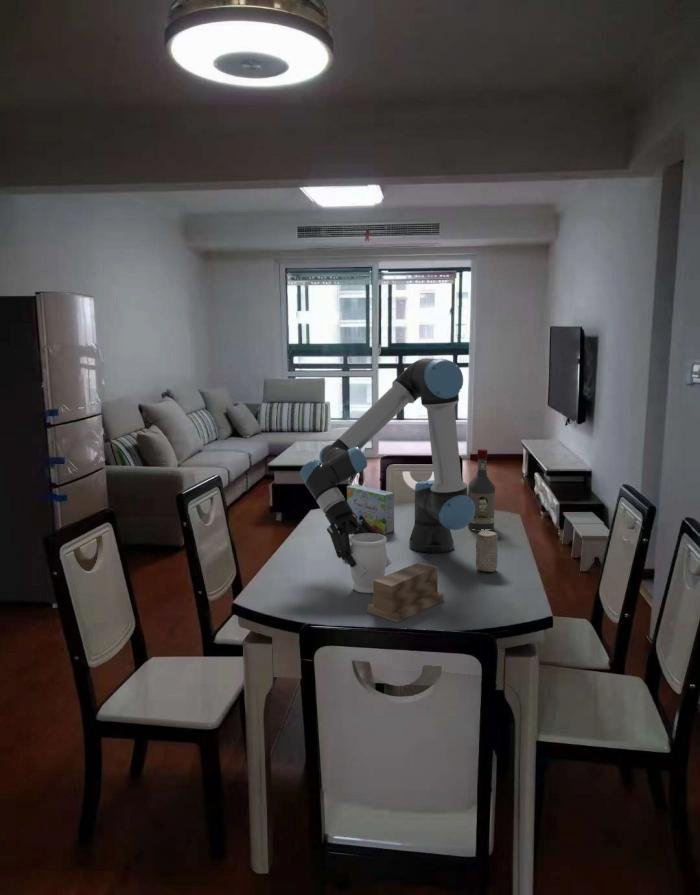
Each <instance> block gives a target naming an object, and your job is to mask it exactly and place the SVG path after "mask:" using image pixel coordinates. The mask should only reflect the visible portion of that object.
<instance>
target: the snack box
mask: <svg viewBox="0 0 700 895" xmlns="http://www.w3.org/2000/svg"><path fill="white" fill-rule="evenodd" d="M346 501H347V503H348V504H349V506H350V507H351V509H352V515H353V516H354V517H355V518H359V517H360V516H361V515H362V516H363V517H364V519H365V520H366V522H367V523H368V524H369V525H370V526H371V527H372V528H373V529H374V530H375V531H376V532H377V533H379V532H380V533H379V534H382V535H386V534H391V533H393V532H395V493H394V492H390V491H387V490H382V489H378V488H373V487H370V486H366V485H360V484H357V483H356V484H351V485H347V486H346Z"/></svg>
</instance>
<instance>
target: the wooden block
mask: <svg viewBox="0 0 700 895" xmlns="http://www.w3.org/2000/svg"><path fill="white" fill-rule="evenodd" d="M438 571H439V566H436V565H432V564H429V563H426V562H421V561H419V562H417V563H414V564H411V565H409V566H407V567H404V568H402V569H399V570H397V571H394V572H392V573H389V574H387V575H384V577H381V578H379V579H376V580H374V581H373V593H372V594H373V595H372V596H373V598H372V600H373V601H372V602H370V603H367V613H369V614H372V615H375V616H377V617H380V618H383V619H387V620H389V621H392V622H395V623H400V622H402V621H404V620H406V619H408V618H410V617H412V616H414V615H416V614H419V613H421V612H422V611H424V610H427V609H429V608H431V607H433V606H434V605H437V604H439V603H441V602H442V601H444V595H445V594H444V592H442V591H439V590H438V587H439V586H438V584H439V583H438V582H439V581H438V580H439V579H438V578H439V572H438Z"/></svg>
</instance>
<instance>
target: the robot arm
mask: <svg viewBox="0 0 700 895" xmlns="http://www.w3.org/2000/svg"><path fill="white" fill-rule="evenodd" d="M463 384H464V375H463V372H462V370H461V368H460V366H458V364H456V363H455V362H454V361H451V360H450V359H449V360H448V359H446V358H445V359H444V358H428V357H426V358H420V359H418V360H416V361H414V362H413V363H411V364H410V365H409V366H408V367H407V368H405V369H404V371H402V373H400V374H399V375H398V376H397V377H396V378H395V379H393V381H392V384H391V387H390V388H389V389H388V390H387V391H386V392H385V393H384V394H383V395H381V397H380V398H379V399H378V400H377V401H376V402H375V403H374V404H372V406H370V408H368V409H367V411H365V412H364V413H363V414H362V415H361V416H360V417H359V418H358V419H357V420H355V422H354V423H353V424H352V425H351V426H350V427H348V429H347V430H345V432H343V433H342V434H341V435H340V436H339V437H338V438H337V439H336V440H335V441H334V442H333V443H332V444H328V445H324V447H322V449H321V450H320V451H319V455H318V456H319V459H314V460H310V461H308V462H307V463H305V465H303V466H302V467H301V469H300V471H299V474H300V477H301V479H302V481H303V483H304V484H305V486H306V488H307V490H308V491H309V492H310V494H311V496H313V499H314V500H315V502H316V504H318V506H319V508H320V509H321V511H322V512H323V513H324V516H325V517H326V519H327V521H328V522H329V524H330V525H329V526H328V527H327V528H326V531H327V533H328V534H329V536H330V539H331V542H332V544H333V548H334V551H335V553H336V557H337V558H338V559H341V560H342V561H345V560H346V562H347V563H348V565H349V567H350V566H351V567H353V569H354V571H355V572H356V574H357V575H358V577H359V578H361V577H362V576H363V575H364V574H365V573H366V571H365V570H364V568H363V566H362V565H361V563H360V562H359V560H358V559H357V557H356V555H355V554H354V553H352V554H351V549H350V541H349V534H351V535H356V534H362V533H375V534H379V532H376V531H375V530H374V529H373V528H372V527H371V526H370V525H369V524H368V523H367V522H366V520H365V519H364V517H363V516H362V515H361V516H360V517H359V518H355V517H354V516H353V515H352V509H351V507H350V506H349V504H348V503H347V500H346V498H345V497H344V494H343V493H342V492H341V490H340V489H339V487H338V485H339V484H341V483H342V482H345V481H347V480H348V479H350V478H351V477H354V476H355V475H357V474H360V472H362V471H364V470H365V469H366V468H367V467H368V460H367V458H366V456H365V454H364V452H363V451H362V449H363V448H364V447H365V445H367V444H368V442H370V441H371V440H372V439H373V438H374V437H375V436H376V435H377V434H378V433H379V432H380V431H381V430H382V429H384V427H385V426H387V425H388V423H389V422H390V421H392V420H393V419H394V417H396V416H397V415H398V414H399V413H400V412H401V411H402V410H403V409H404V408H405V407H406V406H407V405H408V404H414V403H415V402H416V401H417V400H418V399H420V401H421V405H422V406H423V407H424V408H425V409H426V411H427V413H426V414H427V422H428V423H427V424H428V432H429V442H430V450H431V459H432V468H433V469H432V470H433V478H434V480H422V481H421V480H420V481H418V482H417V483H416V484H415V487H414V525H413V527H412V531H411V534H410V536H409V541H408V543H409V545H408V546H409V548H410V549H411V550H413V551H416V552H420V553H426V554H428V553H429V554H430V553H431V554H436V553H437V554H438V553H447V552H450V551H452V550H453V549H454V544H455V543H454V539H453V535H452V531H458V530H462V529H464V528H466V527H467V526H468V525H469V523H470V522H471V521H472V519H473V518H474V515H475V505H474V502H473V501H472V500H471V498H469V497H468V486H467V483H466V482H465V481H463V479H462V472H461V469H462V468H461V461H460V451H459V442H458V441H459V440H458V429H457V420H456V419H457V418H456V409H455V408H456V407H455V406H457V403H458V402H459V401H460V398H459V393H460V392H461V390H462V388H463ZM451 530H452V531H451ZM338 531H339V532H338ZM391 564H392V561H391V560H390V557H389V556H388V555H387V563H386V568H388V567H389V566H390V565H391ZM386 568H385V569H386Z"/></svg>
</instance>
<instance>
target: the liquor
mask: <svg viewBox="0 0 700 895" xmlns="http://www.w3.org/2000/svg"><path fill="white" fill-rule="evenodd" d="M476 455H477V458H476V459H477V472H476V475H475V476H474V477H473V478H472V479H471V480H470V481H469V482H468V486H467V491H468V497H469V498H471V500H472V501H473V502H474V505H475V515H474V518H473V519H472V521H471V522H470V523H469V525H467V526H468V528H469V530H470V529H475V530H481V529H484V530H485V529H492V528H493V529H494V528H495V505H496V503H495V500H496V499H495V498H496V487H495V484H494V483H493V482H492V480H491V479H490V478H489V477H488V473H487V465H488V464H487V462H488V461H487V459H488V449H483V448H481V449H477V454H476Z"/></svg>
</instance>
